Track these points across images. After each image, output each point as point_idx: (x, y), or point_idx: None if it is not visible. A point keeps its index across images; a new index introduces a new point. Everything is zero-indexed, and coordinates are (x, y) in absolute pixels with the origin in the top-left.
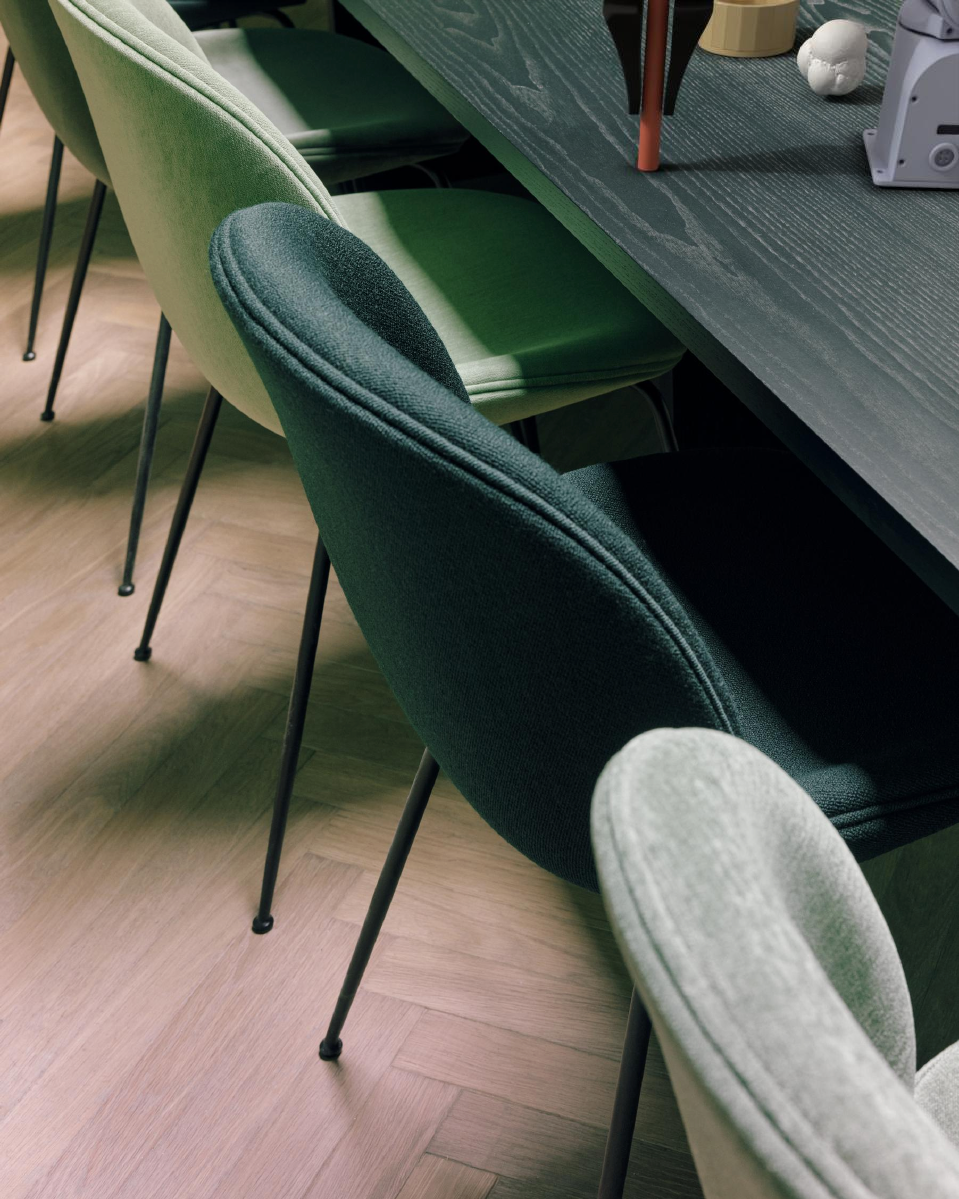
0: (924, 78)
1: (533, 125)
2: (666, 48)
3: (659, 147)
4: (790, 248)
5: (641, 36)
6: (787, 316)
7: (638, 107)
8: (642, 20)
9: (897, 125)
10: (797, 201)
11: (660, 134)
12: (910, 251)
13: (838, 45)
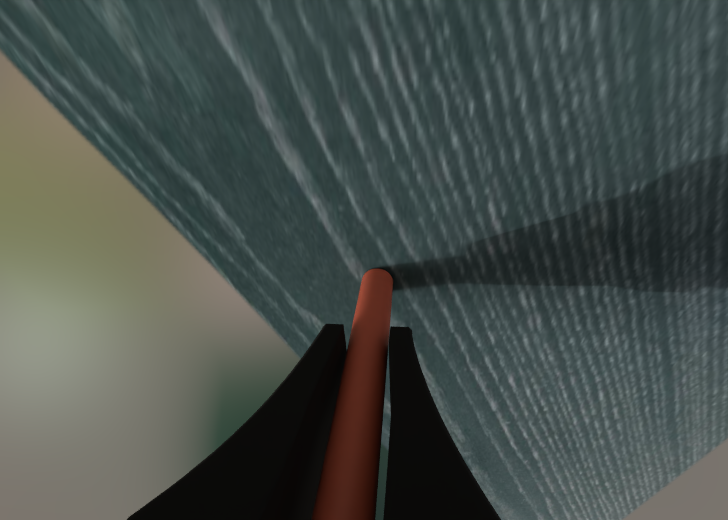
0: None
1: (126, 104)
2: (378, 469)
3: (391, 302)
4: (533, 441)
5: (300, 456)
6: (501, 503)
7: None
8: (286, 501)
9: None
10: (581, 364)
11: (390, 314)
12: (663, 450)
13: None
